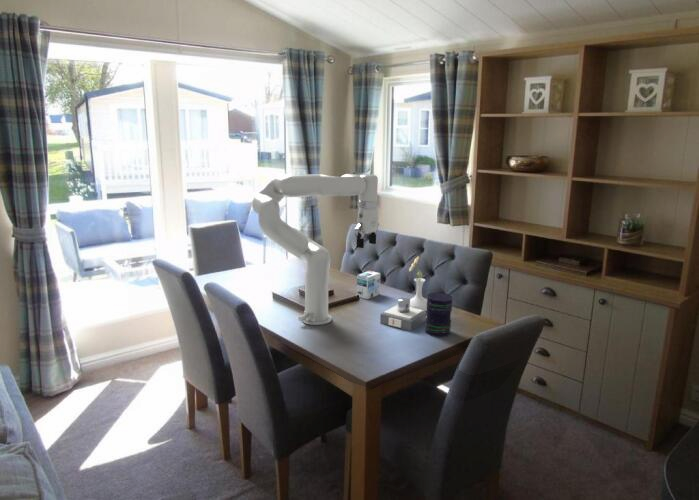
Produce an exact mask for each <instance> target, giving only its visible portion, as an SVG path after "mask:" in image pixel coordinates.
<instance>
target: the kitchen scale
mask: <svg viewBox="0 0 699 500" xmlns="http://www.w3.org/2000/svg"><path fill="white" fill-rule="evenodd" d="M397 309H398V304H396V305H394V306H392V307H391V308H389V309H387V310H385V311H383V312H381V313H380V316H379V317H380V318H379V319H380V321H379V322H380V324H382V325H384V326H385V325H387V326H390V327H394V328H397V329H402V330H404V331H405V330H406V331H409V332H411V331H413V330H414V329H416V328H417V327H419V326H420V325H421V324H424V323H426V318H427V311H423V310H421V309H416V308H412V307H410V312H409V313H400V312H398V311H397Z"/></svg>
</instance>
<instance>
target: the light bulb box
mask: <svg viewBox="0 0 699 500" xmlns="http://www.w3.org/2000/svg"><path fill="white" fill-rule="evenodd" d="M356 276H357V277H356V296H357V295H359V297H358V298H361V299H364V300H365V299H366V300H369V299H372V298H374V297H377V296H379V295H380V294H381V291H380V290H381V272H376V271H372V270H367V271H365V272H362V273H358V274H357V275H356Z"/></svg>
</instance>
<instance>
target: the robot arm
mask: <svg viewBox="0 0 699 500" xmlns="http://www.w3.org/2000/svg"><path fill="white" fill-rule="evenodd" d="M378 181H379V178H378V176H377V175H376V174H369V173H363V174H353V173H345V174H343V175H341V176H333V175H327V174H326V175H325V174H323V173H322V174H320V173H314V174H313V173H310V174H288V173H279V174H277V175H275V176H274V177H273V178H272V179H271V180H270V181H269V182H268V183H267V184H266V185H265V186H264V187H263V188H262V189H261V190H260V191H259V192H258V193H257V194H256V195H255V197H254V198H253V199H252V203H251V204H252V206H251V207H252V209H253V212H255V214H256V215H258V226H259V227H260V230H261V232H262V233H263V234H264V235H265V237H267V238H268V239H270V240H271V241H273V242H274V243H276V244H277V245H278V246H279V247H281V248H282V249H284V250H285V251H286V252H287V253H289V254H292V255H293V256H295V257H296V258H297V259H298V260H299V259H300V260H301V261H302V262H304V264H306V271H305V276H304V285H305V286H304V311H303V314H302V315H300V316H298V321H299V322H301V323H304V324H306V325H311V326H322V325H323V326H324V325H326V324H329V323H330V322H332V320H333V317H332V316H331V315H330V314H329V285H330V284H329V282H330V281H329V278H330V277H329V275H330V267H331V263H332V262H331V254H330V252H329V251H328V249H327V248H325V246H323V245H320V243H318V242H316V241H315V240H313V239H311V238H310V237H309V236H307V235H306V234H304V233H303V232H301V230H298V229H297V228H295V227H292V226H290V225H289V224H288V223H286V222H285V221H284V220H282V218H281V217H280V216H281V215H280V205H279V202H281V201H282V200H283V199H284V198H303V197H350V196H351V197H352V196H358V206H357V207H358V211H357V218H356V227H355V228H353V229H354V234H355V238H356V248H358V249H364V246H365V238H364V236H365V234H366V235H367V234H368V244H371V245H377V235H378V230H379V225H380V223H379V213H378V212H379V211H378V188H379V187H378V185H379V183H378Z"/></svg>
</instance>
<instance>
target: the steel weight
mask: <svg viewBox="0 0 699 500" xmlns="http://www.w3.org/2000/svg"><path fill="white" fill-rule="evenodd" d="M410 299H411V298H407V297H398V299H397V305H398V309H397V311H398V312H400V313H409V312H410Z"/></svg>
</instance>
